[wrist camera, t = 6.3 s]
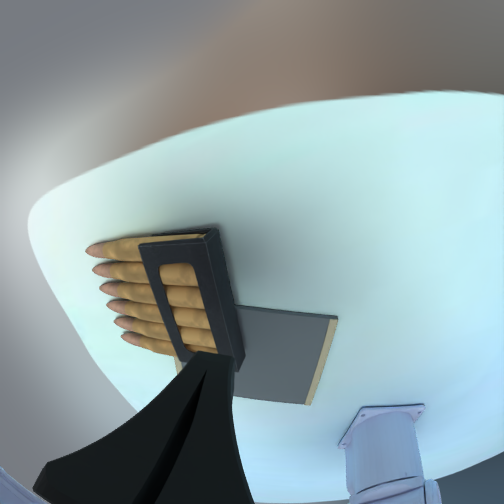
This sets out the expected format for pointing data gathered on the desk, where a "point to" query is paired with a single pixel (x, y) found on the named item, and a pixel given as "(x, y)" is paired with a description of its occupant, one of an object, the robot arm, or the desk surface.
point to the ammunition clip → (173, 293)
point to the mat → (281, 354)
